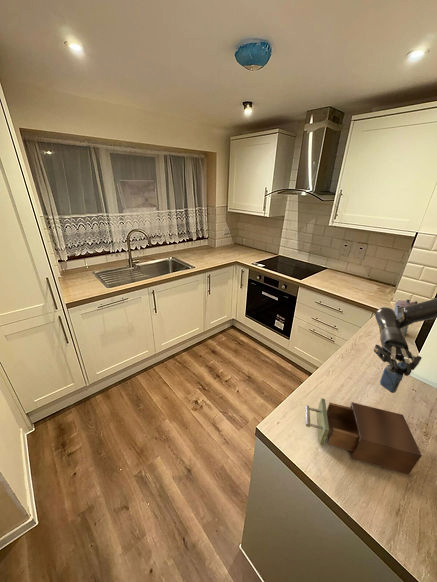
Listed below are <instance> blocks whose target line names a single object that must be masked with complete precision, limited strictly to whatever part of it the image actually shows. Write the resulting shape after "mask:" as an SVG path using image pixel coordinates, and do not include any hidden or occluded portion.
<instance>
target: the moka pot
mask: <svg viewBox="0 0 437 582" xmlns="http://www.w3.org/2000/svg"><path fill="white" fill-rule="evenodd" d="M417 303H418V301H417V300H416V301H411V300H410V299H406V300H397V301H396V302H395V304H394V309H393V311H394V312H395V314H396V316H397V318H398V319H399V318H401V317H402V316H403V313H402V308H403V307H405V306H409V305H413V304H417ZM408 328H409V325H408V326H406V327H403V328H401V330H402V333H403V334H404V336H407V334H408Z"/></svg>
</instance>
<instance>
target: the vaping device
mask: <svg viewBox="0 0 437 582" xmlns="http://www.w3.org/2000/svg"><path fill="white" fill-rule="evenodd" d="M397 365H398V370H397V372H396V373H395V372H393V370H391V368H390V364H387V365H386V367H385V368H384V369H383V371H382V374H381V377H380V380H379V384H380V386H382V387H383V388H384V389H386V390H387V391H389V393H391V394H395V393H396V392H397V390H398V388H399V385H400V384H401V382H402V381H403V378H404V376H405V375H404V372H405V370H406V365H405V363H404V362H401V363H399V362H397Z"/></svg>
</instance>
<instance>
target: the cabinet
mask: <svg viewBox="0 0 437 582" xmlns="http://www.w3.org/2000/svg"><path fill="white" fill-rule="evenodd" d="M349 407H350V408H352V410H353V414H354V417H355V421H356V425H357V429H358V433H359V437H360V438H359V441H358V443H357V445H356V447H355V449H354V451H350V455H351V458H352V459H353V460H357V461H361V462H364V463H368V464H371V465H374V466H378V467H381V468H384V469H388V470H392V471H394V472H397V473H401V474H405V475H408V476H409V475H410V474H411V472H412V471H413V469H414V468H415V467H416V465H417V463H418V462H419V461H420V460H421V458H422V456H423V455H422V453H421V450H420V448H419V446H418V444H417V443H416V439H415V438H414V436H413V433H412V432H411V429H410V427H409V425H408V423H407V421H406V419H405V415H404V414H401V413H399V412H394V411H393V412H392V411H389V410H386V409H382V408H377V407H373V406H370V405H366V404H361V403H357V402H353V401H352V402H350V405H349Z"/></svg>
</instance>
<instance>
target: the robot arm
mask: <svg viewBox="0 0 437 582" xmlns="http://www.w3.org/2000/svg"><path fill="white" fill-rule="evenodd" d="M402 313H403V316H402V317H401V318H399V319H398V318H397V316H396V314H395V312H394V309H392V308H391V307H388V306H384V307H380V308H378V309H377V310H376V311H375V313H374V317H375V320H376V323H377V326H378V328H379V334H380V335H379V340H380V344H381V346H380V345H379V344H375V346H374V348H373V352H374V353H375V354H376V355H377V356H378V358H379V359H380V360H381V361H382V362H384V363H388V365H390V368H391V370H393V372H395V373H396V372H397V370H398V365H397V363H401V362H404V363H405V365H406V370H405V372H404V375H403V376H406V377H408V376H410V375H411V373H412V372H413V371H415V369H416V368H417V367H418V365H419V364H420V362H421V361H422V356H420V355H416V356H415V355H414V354H413V353H412V352H411V351H410V350H409V345H408V342H407V339H406V337H405V336H406V335H404V334H403V333H402V330H401V328H403V327H406V326H408V327H409V326H410V325H412V324H415V323H419V322H424V321H428V320H433V319H436V318H437V297H436V298H432V299H429V300H425V301H421V302H417V304H413V305H409V306H405V307H403V308H402ZM409 359H411V362H410V360H409Z"/></svg>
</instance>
